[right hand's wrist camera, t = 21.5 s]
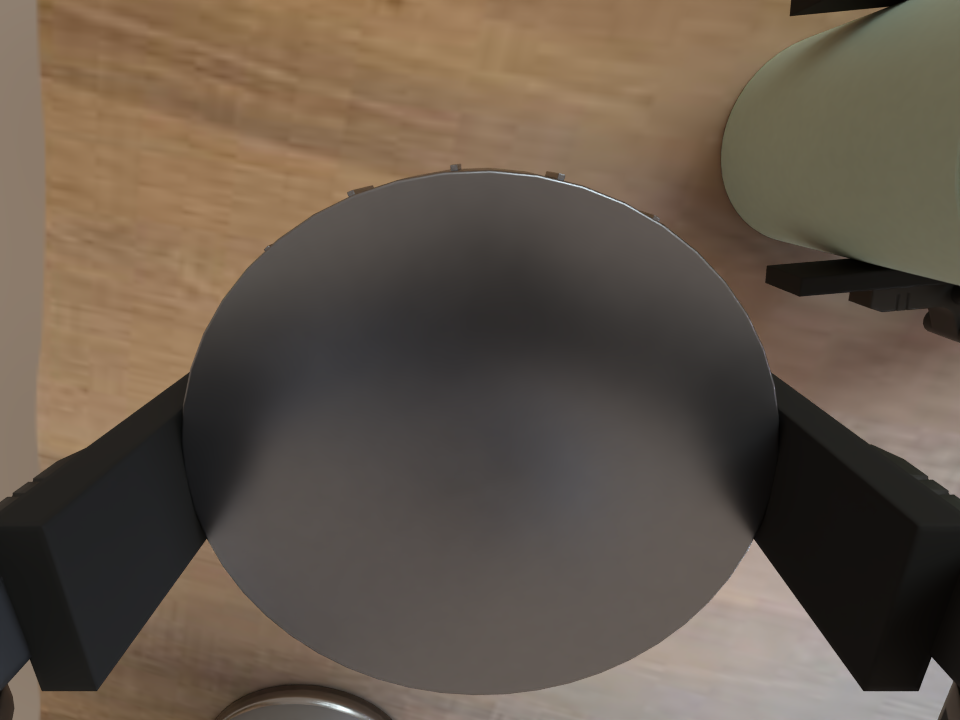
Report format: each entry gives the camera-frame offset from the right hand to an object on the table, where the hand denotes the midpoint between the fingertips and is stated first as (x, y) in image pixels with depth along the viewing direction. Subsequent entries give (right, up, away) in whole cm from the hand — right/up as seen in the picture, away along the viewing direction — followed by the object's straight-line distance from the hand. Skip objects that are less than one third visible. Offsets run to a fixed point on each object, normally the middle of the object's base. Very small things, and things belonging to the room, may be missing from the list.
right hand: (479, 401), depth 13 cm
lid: (0, -1, -3) cm, 3 cm away
